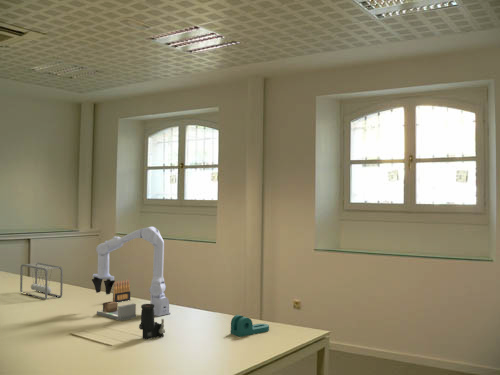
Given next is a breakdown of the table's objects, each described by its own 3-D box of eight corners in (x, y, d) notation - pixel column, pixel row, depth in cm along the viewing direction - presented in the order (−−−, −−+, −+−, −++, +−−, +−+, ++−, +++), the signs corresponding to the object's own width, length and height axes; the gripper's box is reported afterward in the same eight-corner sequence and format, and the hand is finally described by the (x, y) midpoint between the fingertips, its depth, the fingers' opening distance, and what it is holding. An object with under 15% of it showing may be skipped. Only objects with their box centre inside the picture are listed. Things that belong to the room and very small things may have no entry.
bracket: (240, 337, 226) (240, 318, 226) (230, 334, 232) (230, 315, 232) (272, 330, 237) (272, 313, 238) (262, 327, 243) (262, 310, 243)
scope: (165, 304, 225) (145, 308, 218) (165, 337, 225) (145, 341, 217) (154, 301, 230) (134, 304, 223) (153, 333, 230) (134, 337, 223)
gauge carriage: (117, 310, 266) (117, 301, 266) (106, 312, 261) (106, 303, 261) (111, 309, 269) (111, 300, 269) (100, 311, 264) (100, 302, 264)
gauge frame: (136, 317, 259) (136, 304, 259) (120, 320, 252) (121, 307, 252) (111, 311, 272) (112, 298, 272) (96, 314, 265) (96, 301, 265)
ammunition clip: (114, 303, 293) (114, 281, 293) (112, 302, 294) (112, 280, 294) (130, 300, 301) (130, 279, 301) (128, 299, 302) (128, 278, 302)
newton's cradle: (19, 293, 317) (20, 263, 317) (36, 291, 325) (36, 262, 325) (45, 300, 298) (46, 268, 298) (62, 297, 306) (63, 267, 306)
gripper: (119, 267, 270) (118, 293, 270) (100, 264, 278) (100, 290, 278) (108, 268, 264) (107, 295, 264) (89, 266, 273) (89, 292, 272)
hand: (103, 293), depth 271 cm, fingers open, 7 cm apart
